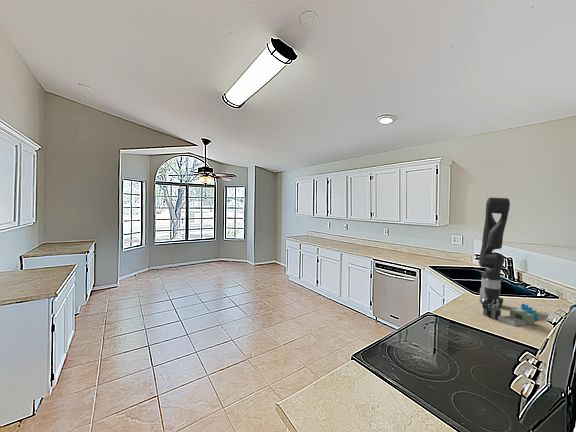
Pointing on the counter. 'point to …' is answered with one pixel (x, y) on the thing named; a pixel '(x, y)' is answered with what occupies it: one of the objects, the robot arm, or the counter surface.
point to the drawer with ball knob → (518, 317)
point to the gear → (529, 311)
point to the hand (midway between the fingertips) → (491, 315)
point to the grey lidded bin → (493, 312)
